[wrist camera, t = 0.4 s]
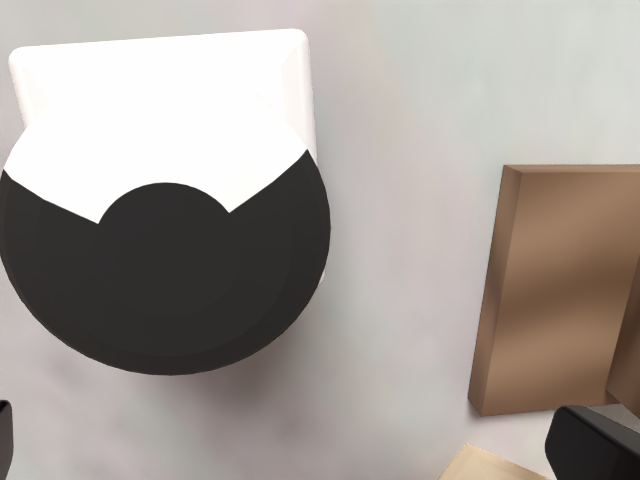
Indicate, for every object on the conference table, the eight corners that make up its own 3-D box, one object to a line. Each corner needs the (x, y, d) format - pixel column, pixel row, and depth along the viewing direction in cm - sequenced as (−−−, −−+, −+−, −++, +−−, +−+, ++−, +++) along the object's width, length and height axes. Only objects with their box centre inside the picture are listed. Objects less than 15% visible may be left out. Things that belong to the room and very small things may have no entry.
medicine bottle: (295, 216, 22) (373, 388, 11) (117, 237, 21) (7, 451, 10) (279, 33, 20) (360, 16, 8) (76, 47, 19) (-133, 49, 7)
